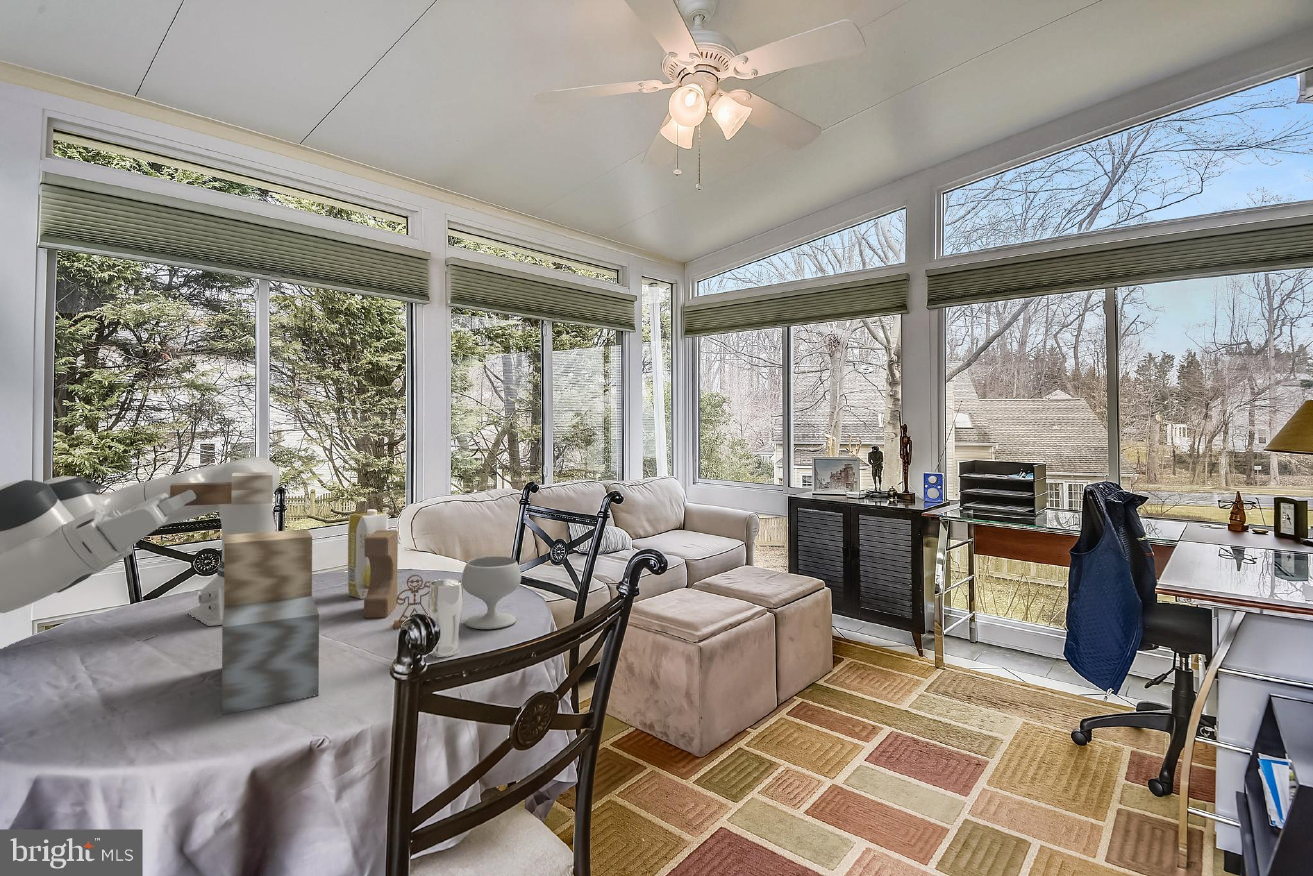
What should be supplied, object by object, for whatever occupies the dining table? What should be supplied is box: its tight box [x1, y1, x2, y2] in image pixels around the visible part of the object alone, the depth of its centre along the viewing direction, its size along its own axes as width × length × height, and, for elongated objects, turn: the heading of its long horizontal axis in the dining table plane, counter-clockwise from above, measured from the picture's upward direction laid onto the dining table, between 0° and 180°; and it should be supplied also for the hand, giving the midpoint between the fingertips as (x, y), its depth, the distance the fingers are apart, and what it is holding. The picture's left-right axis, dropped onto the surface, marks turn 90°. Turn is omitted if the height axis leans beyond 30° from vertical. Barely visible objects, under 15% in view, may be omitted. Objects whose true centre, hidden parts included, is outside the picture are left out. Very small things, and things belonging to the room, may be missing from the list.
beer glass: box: [427, 577, 464, 658], centre depth 131 cm, size 7×7×15 cm
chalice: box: [461, 556, 522, 630], centre depth 151 cm, size 14×14×15 cm
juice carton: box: [347, 508, 389, 600], centre depth 173 cm, size 9×8×24 cm
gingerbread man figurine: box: [393, 574, 431, 630], centre depth 149 cm, size 9×4×12 cm, turn 115°
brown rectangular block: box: [170, 472, 274, 506], centre depth 109 cm, size 14×7×5 cm, turn 123°
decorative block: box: [363, 529, 399, 619], centre depth 158 cm, size 11×6×20 cm, turn 9°
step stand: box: [221, 529, 320, 716], centre depth 115 cm, size 14×24×26 cm, turn 34°
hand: (195, 491), depth 107 cm, fingers closed on brown rectangular block, 3 cm apart
